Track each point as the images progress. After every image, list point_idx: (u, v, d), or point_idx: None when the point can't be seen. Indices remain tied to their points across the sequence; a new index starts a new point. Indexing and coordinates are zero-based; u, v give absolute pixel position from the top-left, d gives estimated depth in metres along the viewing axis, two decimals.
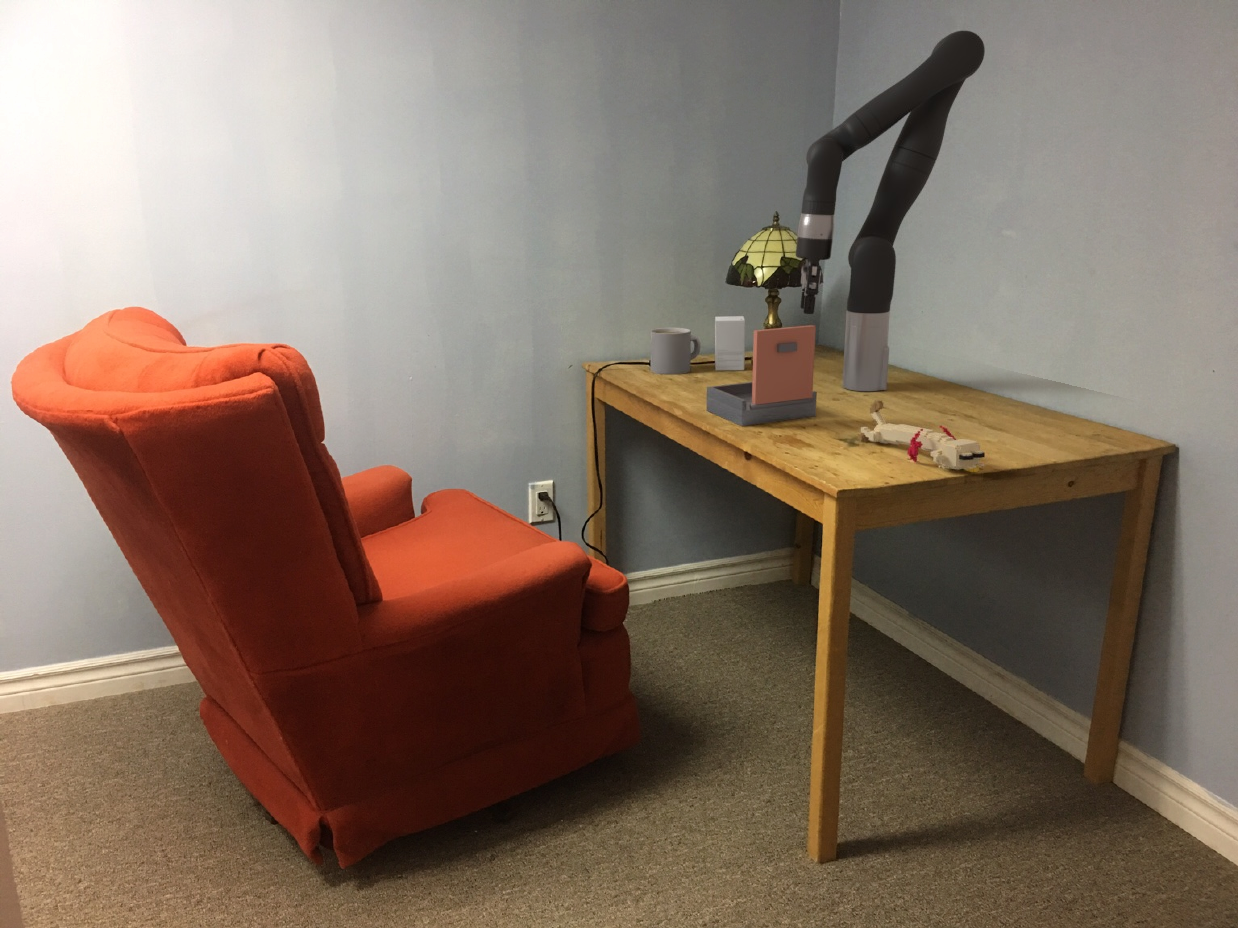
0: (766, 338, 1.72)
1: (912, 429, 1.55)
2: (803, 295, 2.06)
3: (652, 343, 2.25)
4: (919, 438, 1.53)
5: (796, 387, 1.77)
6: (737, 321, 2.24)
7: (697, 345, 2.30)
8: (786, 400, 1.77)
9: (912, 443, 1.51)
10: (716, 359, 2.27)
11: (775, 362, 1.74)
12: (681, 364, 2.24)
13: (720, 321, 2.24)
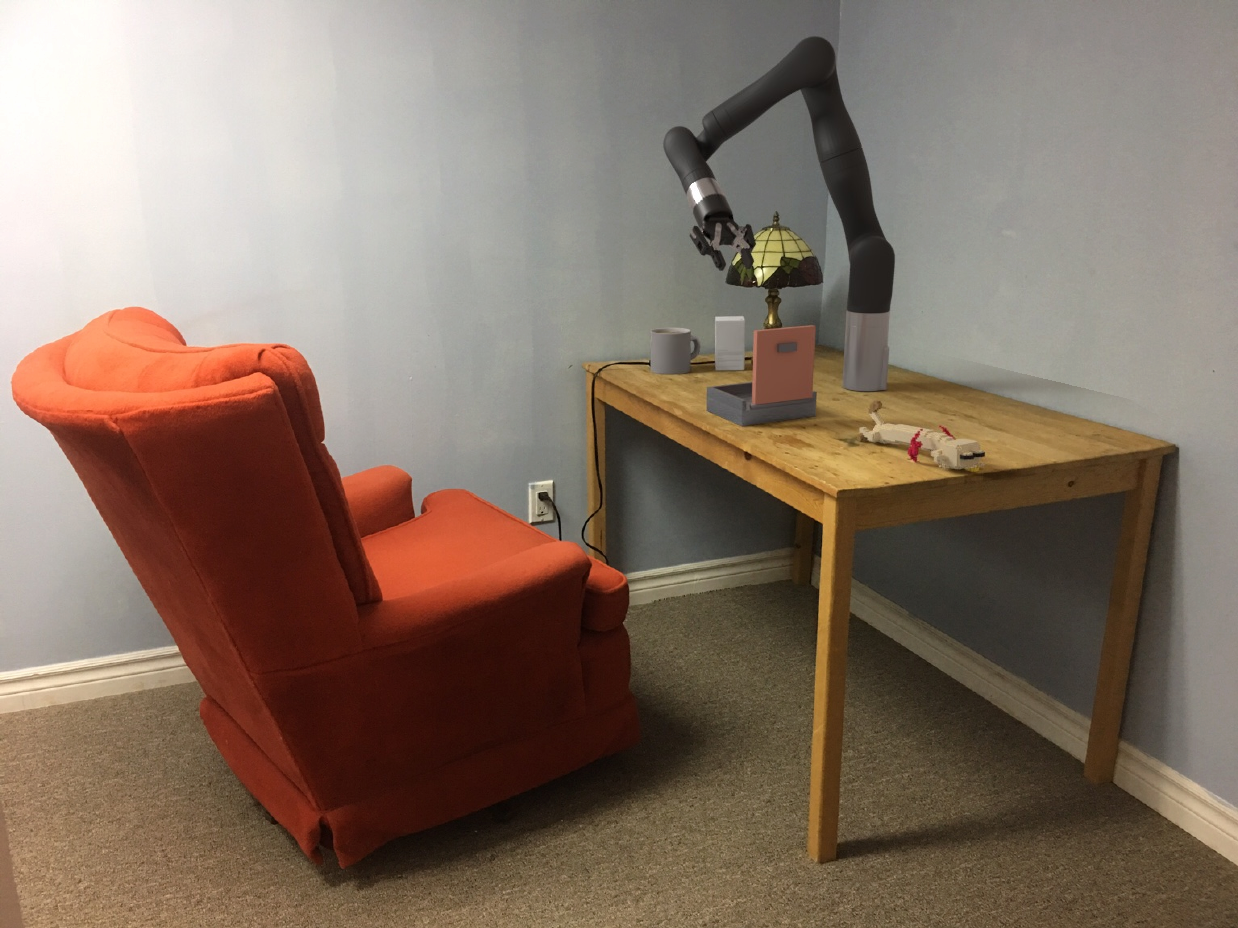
0: (766, 338, 1.72)
1: (911, 429, 1.55)
2: (742, 258, 1.89)
3: (652, 343, 2.25)
4: (919, 438, 1.53)
5: (796, 387, 1.77)
6: (737, 321, 2.24)
7: (697, 345, 2.30)
8: (786, 400, 1.77)
9: (912, 443, 1.51)
10: (716, 359, 2.27)
11: (775, 362, 1.74)
12: (681, 364, 2.24)
13: (720, 321, 2.24)
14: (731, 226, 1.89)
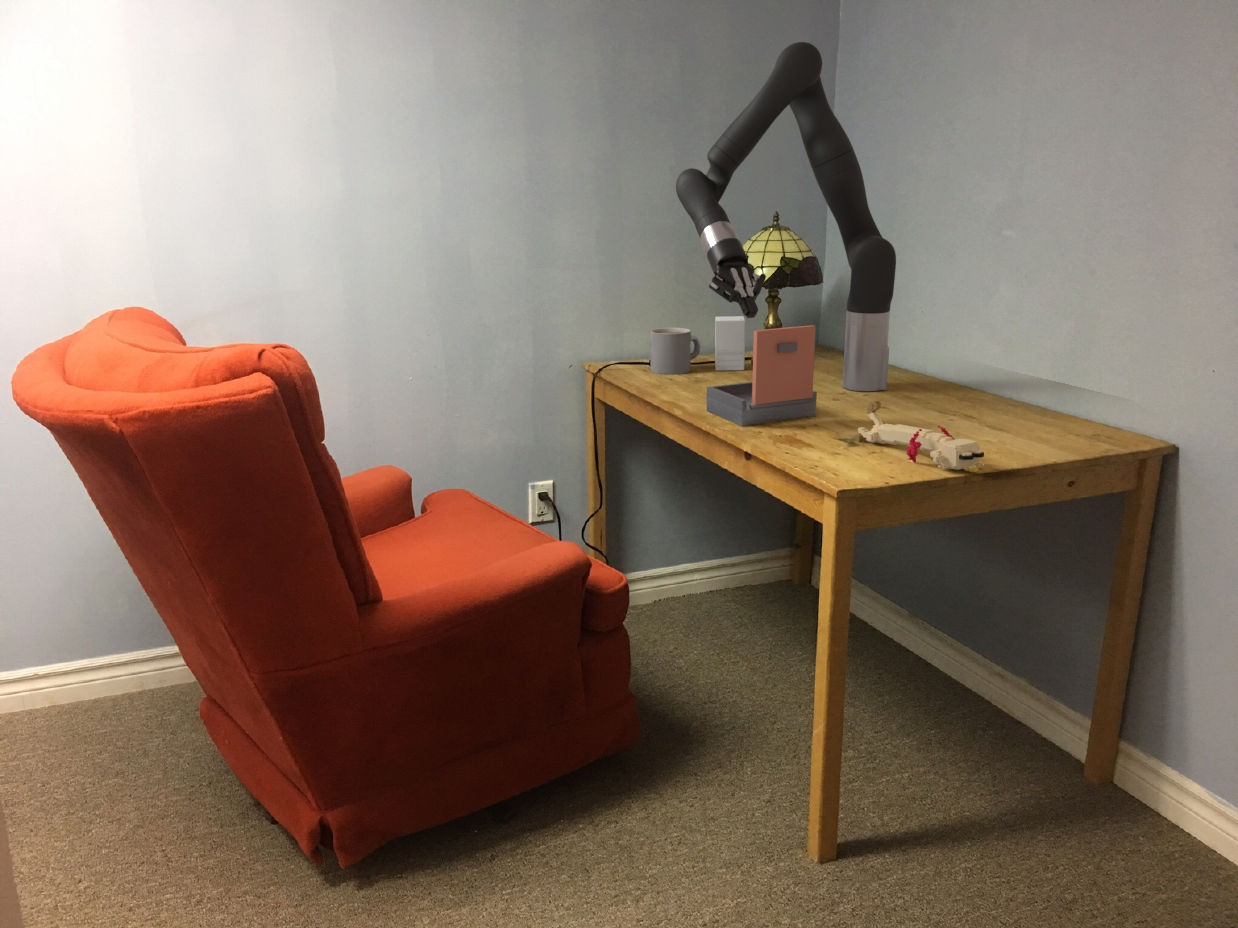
0: (766, 338, 1.72)
1: (910, 429, 1.55)
2: None
3: (652, 343, 2.25)
4: (918, 438, 1.53)
5: (796, 387, 1.77)
6: (737, 321, 2.24)
7: (697, 345, 2.30)
8: (786, 400, 1.77)
9: (911, 444, 1.51)
10: (716, 359, 2.27)
11: (775, 362, 1.74)
12: (681, 364, 2.24)
13: (720, 321, 2.24)
14: (745, 271, 1.86)
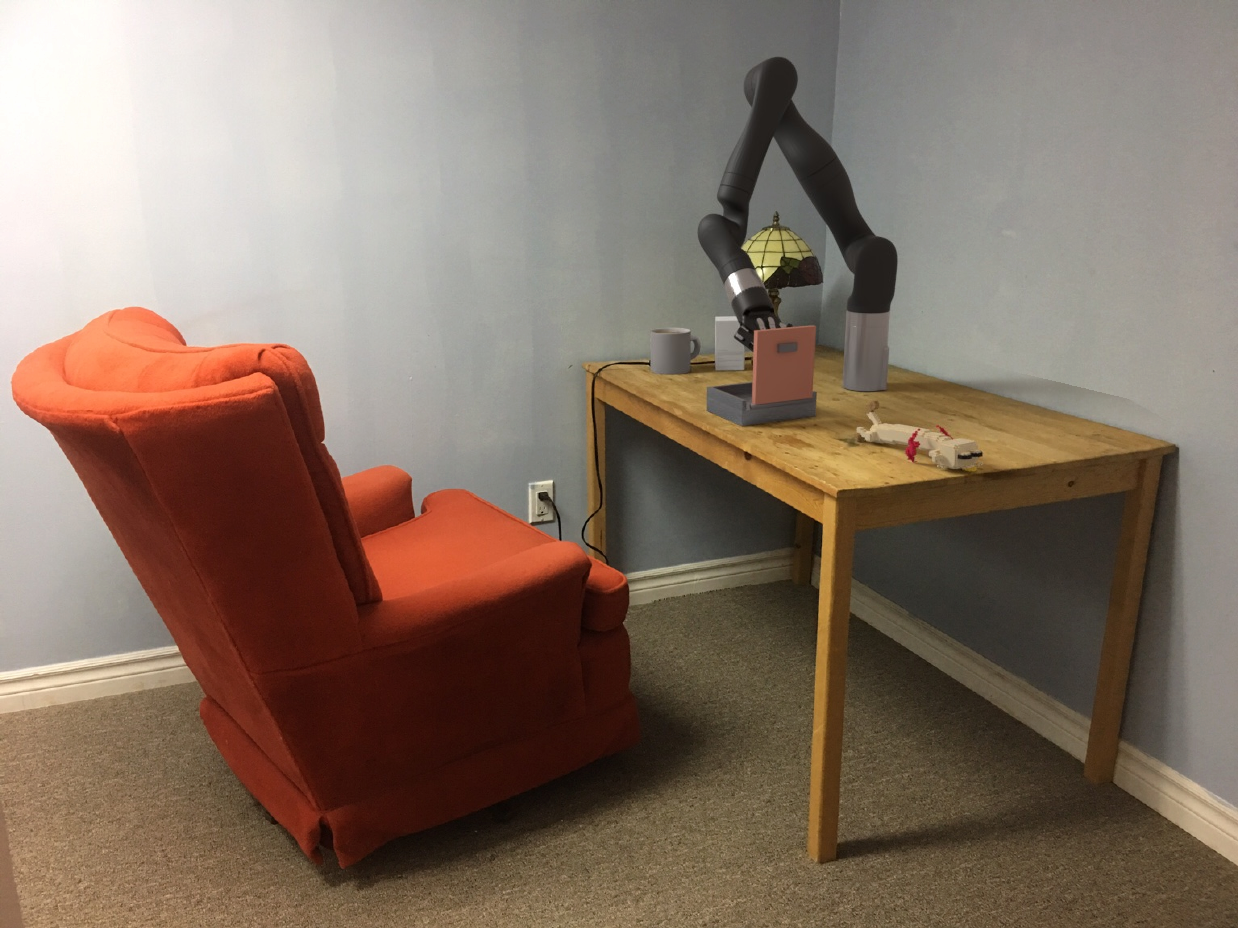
0: (766, 338, 1.72)
1: (909, 429, 1.55)
2: None
3: (652, 343, 2.25)
4: (916, 438, 1.53)
5: (796, 387, 1.77)
6: (737, 321, 2.24)
7: (697, 345, 2.30)
8: (786, 400, 1.77)
9: (910, 443, 1.51)
10: (716, 359, 2.27)
11: (775, 362, 1.74)
12: (681, 364, 2.24)
13: (720, 321, 2.24)
14: (771, 321, 1.79)
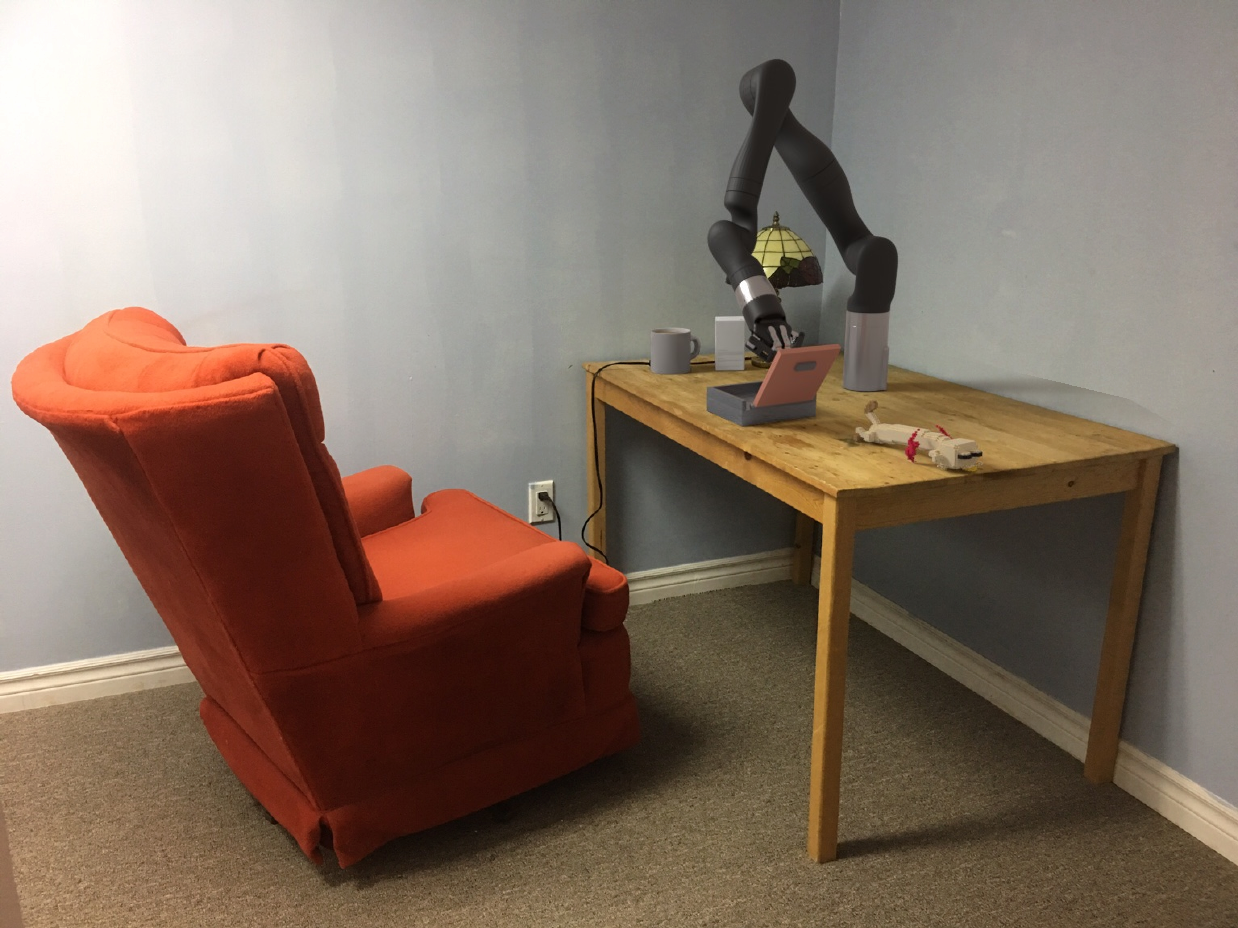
0: (788, 359, 1.66)
1: (908, 429, 1.55)
2: None
3: (652, 343, 2.25)
4: (916, 438, 1.53)
5: (800, 393, 1.76)
6: (737, 321, 2.24)
7: (697, 345, 2.30)
8: (787, 402, 1.77)
9: (909, 443, 1.51)
10: (716, 359, 2.27)
11: (788, 376, 1.70)
12: (681, 364, 2.24)
13: (720, 321, 2.24)
14: (783, 330, 1.76)
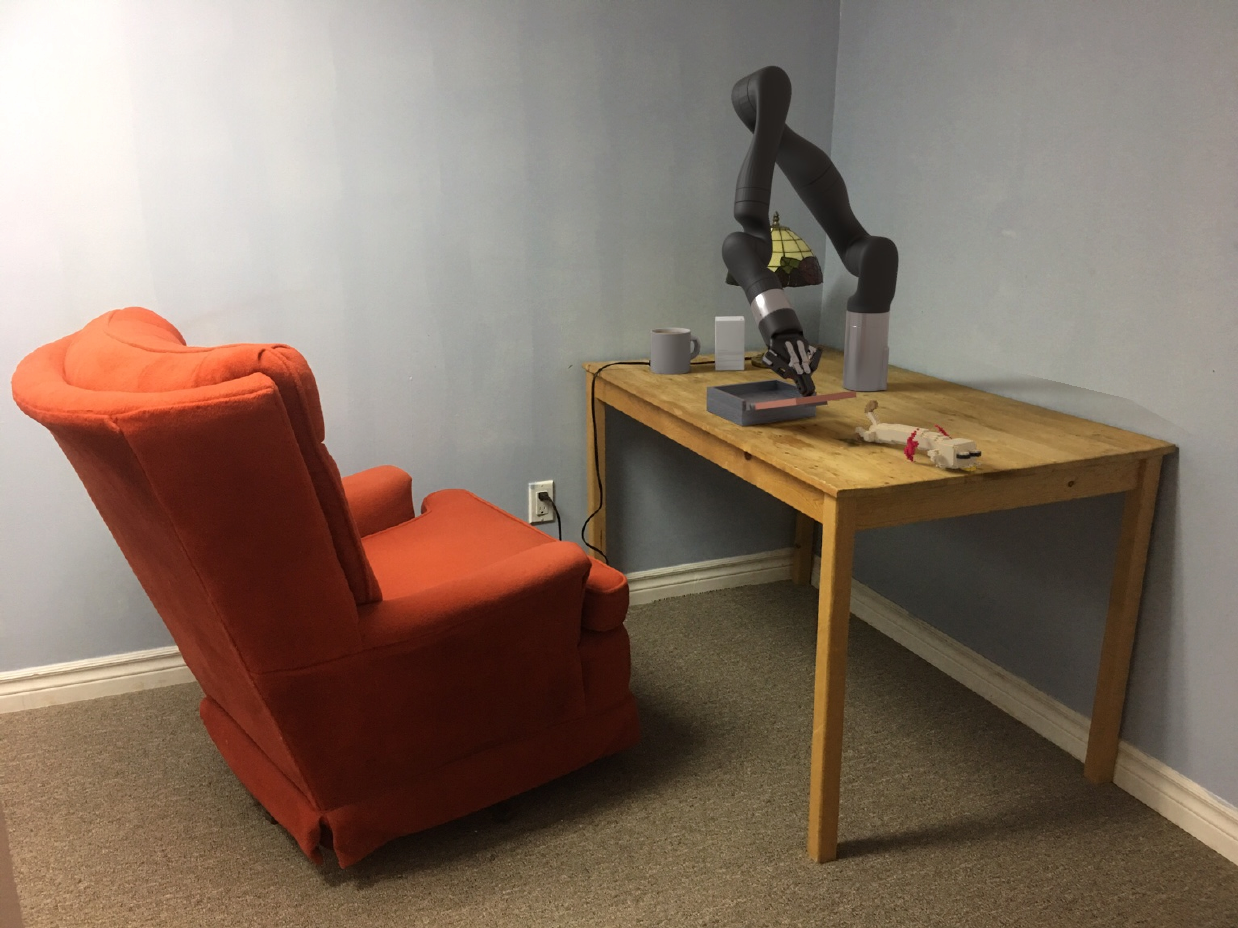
0: None
1: (908, 429, 1.55)
2: None
3: (652, 343, 2.25)
4: (915, 437, 1.54)
5: None
6: (737, 321, 2.24)
7: (697, 345, 2.30)
8: None
9: (908, 443, 1.51)
10: (716, 359, 2.27)
11: None
12: (681, 364, 2.24)
13: (720, 321, 2.24)
14: (801, 345, 1.71)
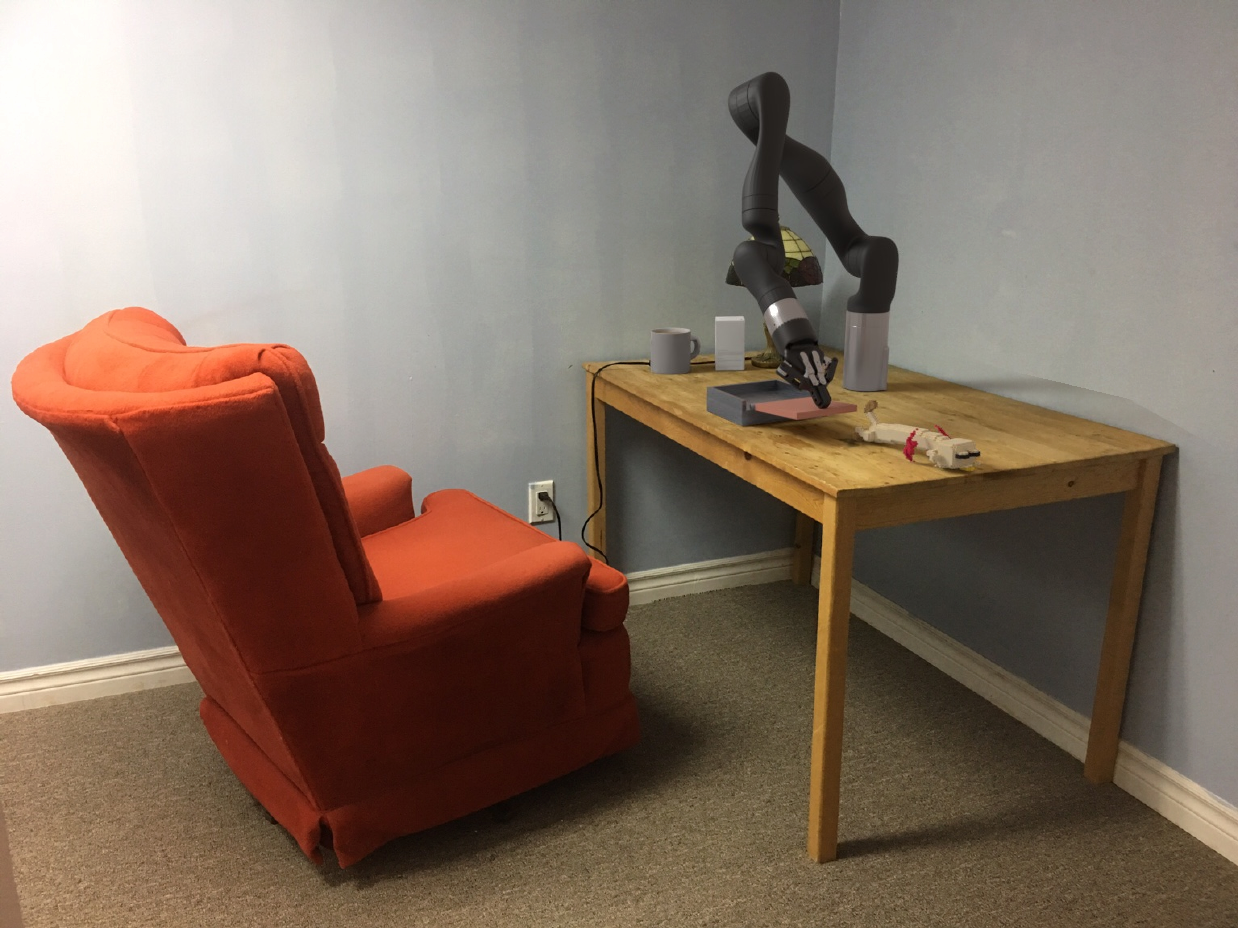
0: None
1: (907, 428, 1.56)
2: None
3: (652, 343, 2.25)
4: (914, 437, 1.54)
5: None
6: (737, 321, 2.24)
7: (697, 345, 2.30)
8: None
9: (907, 443, 1.51)
10: (716, 359, 2.27)
11: None
12: (681, 364, 2.24)
13: (720, 321, 2.24)
14: (816, 355, 1.67)
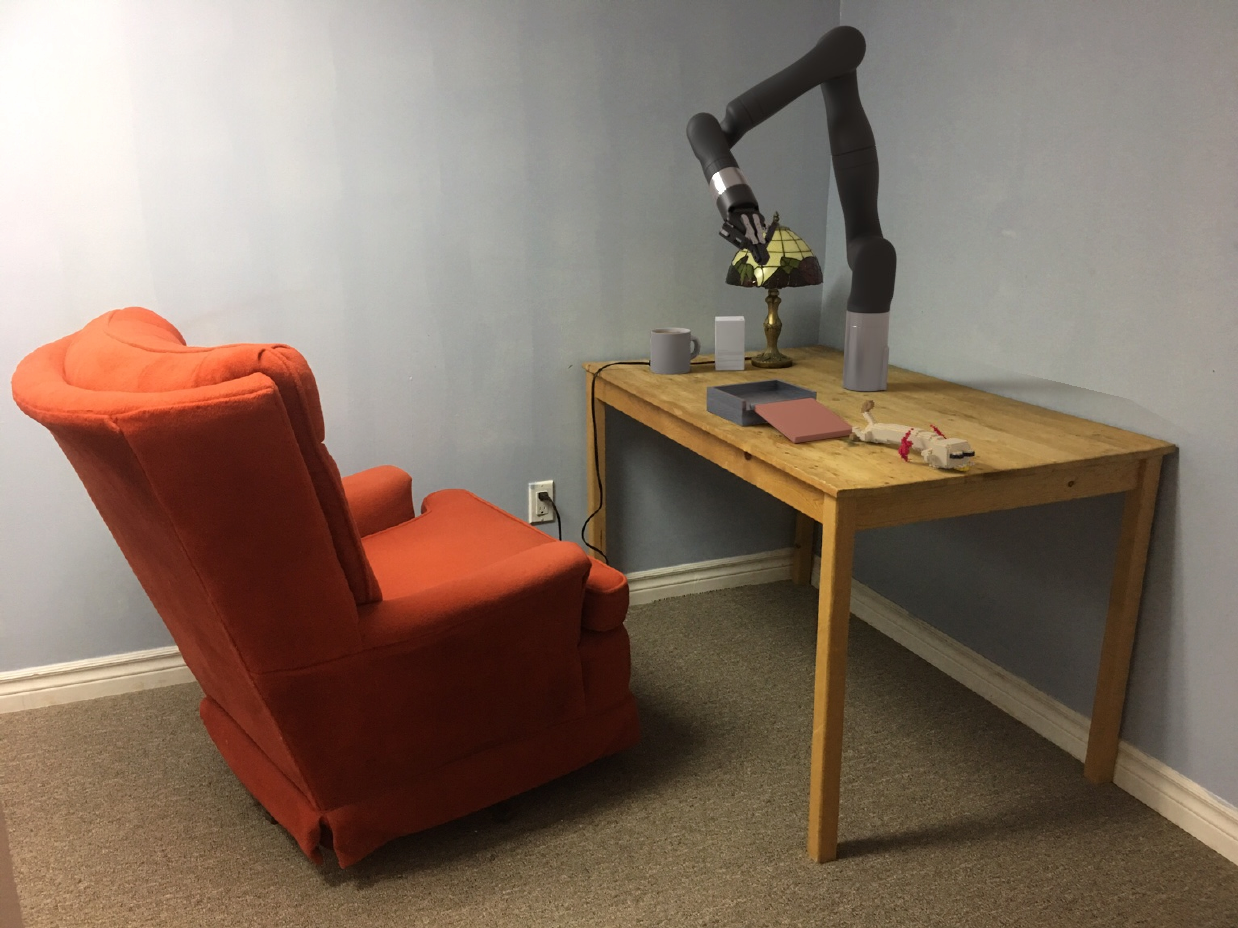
0: None
1: (903, 428, 1.56)
2: None
3: (652, 343, 2.25)
4: (910, 437, 1.54)
5: None
6: (737, 321, 2.24)
7: (697, 345, 2.30)
8: None
9: (903, 443, 1.51)
10: (716, 359, 2.27)
11: None
12: (681, 364, 2.24)
13: (720, 321, 2.24)
14: (756, 218, 1.80)
